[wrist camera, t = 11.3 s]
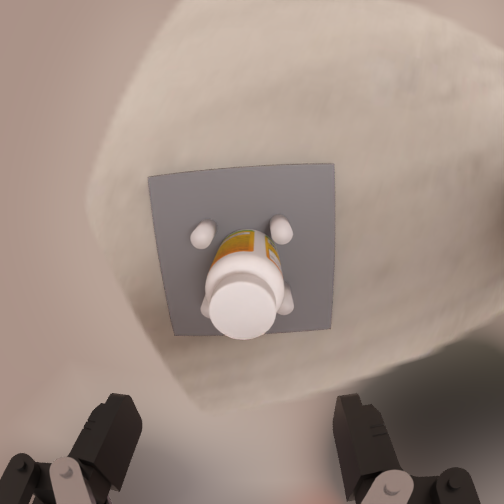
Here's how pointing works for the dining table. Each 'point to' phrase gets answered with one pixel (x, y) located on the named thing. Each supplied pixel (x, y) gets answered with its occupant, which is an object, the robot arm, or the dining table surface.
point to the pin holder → (247, 217)
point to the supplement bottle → (245, 285)
